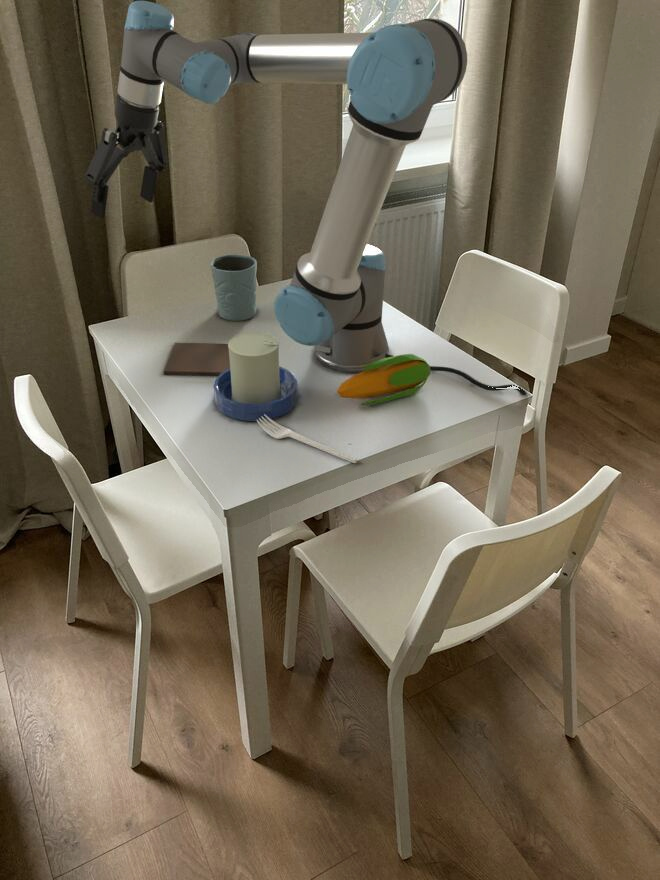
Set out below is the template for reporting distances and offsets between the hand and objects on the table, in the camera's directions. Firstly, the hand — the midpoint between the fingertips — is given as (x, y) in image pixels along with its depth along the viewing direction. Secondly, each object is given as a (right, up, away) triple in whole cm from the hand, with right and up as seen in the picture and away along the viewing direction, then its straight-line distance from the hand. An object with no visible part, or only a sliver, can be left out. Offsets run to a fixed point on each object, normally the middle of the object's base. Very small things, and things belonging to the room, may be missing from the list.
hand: (122, 206), depth 147 cm
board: (+17, -30, +5) cm, 35 cm away
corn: (+51, -38, -5) cm, 64 cm away
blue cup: (+19, -17, +24) cm, 35 cm away
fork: (+37, -47, -18) cm, 62 cm away
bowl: (+27, -38, -7) cm, 47 cm away
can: (+27, -38, -7) cm, 47 cm away
